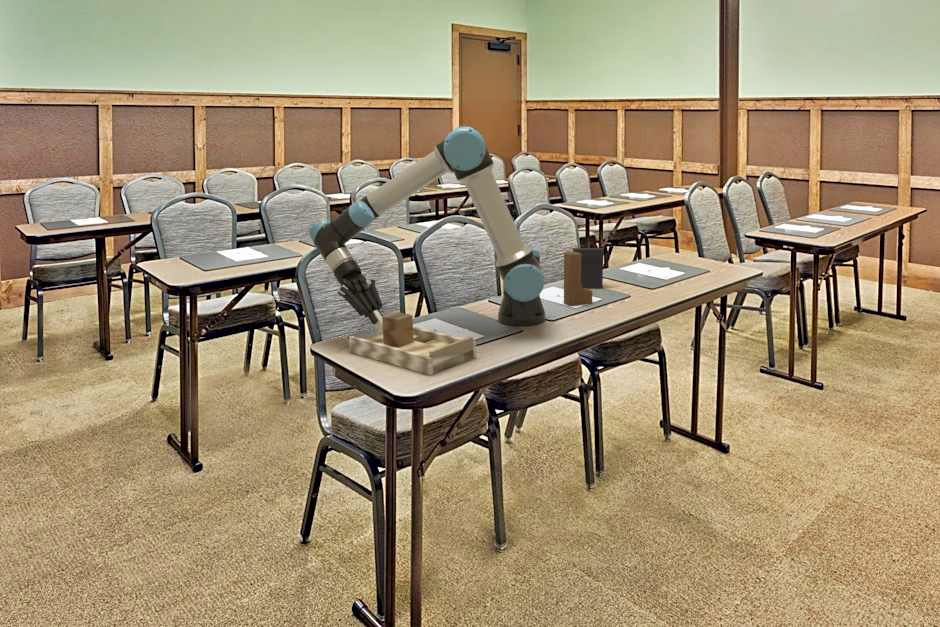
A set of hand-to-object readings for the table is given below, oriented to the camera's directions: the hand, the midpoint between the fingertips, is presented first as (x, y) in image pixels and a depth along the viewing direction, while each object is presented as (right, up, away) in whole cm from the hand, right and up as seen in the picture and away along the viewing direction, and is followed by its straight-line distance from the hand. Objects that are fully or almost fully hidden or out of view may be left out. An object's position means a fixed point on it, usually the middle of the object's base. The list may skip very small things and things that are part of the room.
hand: (384, 331), depth 218 cm
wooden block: (+62, +8, +47) cm, 78 cm away
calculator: (+68, +14, +68) cm, 98 cm away
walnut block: (+4, -3, -1) cm, 5 cm away
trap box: (+8, -7, -4) cm, 11 cm away
